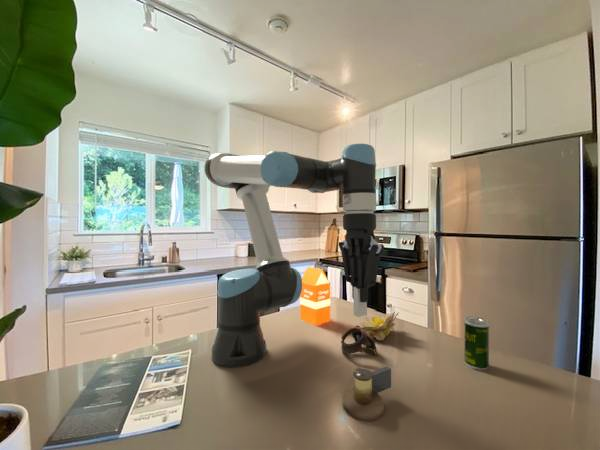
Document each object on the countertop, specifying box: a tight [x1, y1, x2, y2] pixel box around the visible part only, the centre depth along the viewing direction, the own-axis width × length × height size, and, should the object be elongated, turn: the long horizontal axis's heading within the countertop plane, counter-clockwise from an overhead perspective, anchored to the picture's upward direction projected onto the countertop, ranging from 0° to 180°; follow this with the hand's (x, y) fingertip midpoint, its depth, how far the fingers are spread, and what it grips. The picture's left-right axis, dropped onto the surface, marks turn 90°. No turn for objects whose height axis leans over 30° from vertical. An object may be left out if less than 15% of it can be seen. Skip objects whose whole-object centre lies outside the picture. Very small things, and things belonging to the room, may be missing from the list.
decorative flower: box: [359, 311, 400, 341], centre depth 92 cm, size 15×11×10 cm
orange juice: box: [299, 266, 331, 326], centre depth 104 cm, size 8×9×20 cm
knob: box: [352, 365, 392, 405], centre depth 57 cm, size 9×4×5 cm, turn 120°
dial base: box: [342, 387, 384, 422], centre depth 55 cm, size 8×8×2 cm
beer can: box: [464, 315, 490, 371], centre depth 71 cm, size 5×5×12 cm
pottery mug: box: [340, 325, 378, 357], centre depth 79 cm, size 12×10×8 cm
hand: (360, 314), depth 63 cm, fingers closed
